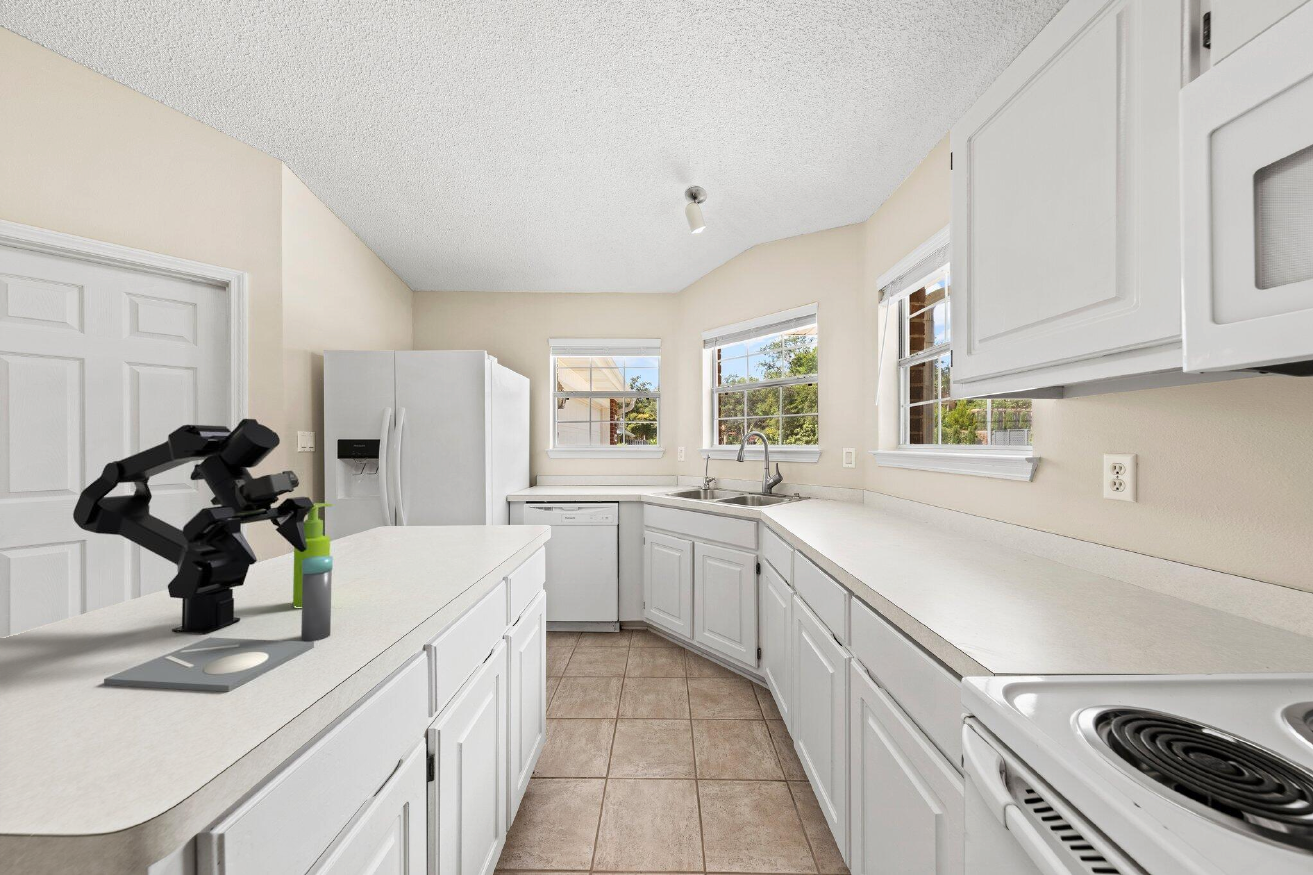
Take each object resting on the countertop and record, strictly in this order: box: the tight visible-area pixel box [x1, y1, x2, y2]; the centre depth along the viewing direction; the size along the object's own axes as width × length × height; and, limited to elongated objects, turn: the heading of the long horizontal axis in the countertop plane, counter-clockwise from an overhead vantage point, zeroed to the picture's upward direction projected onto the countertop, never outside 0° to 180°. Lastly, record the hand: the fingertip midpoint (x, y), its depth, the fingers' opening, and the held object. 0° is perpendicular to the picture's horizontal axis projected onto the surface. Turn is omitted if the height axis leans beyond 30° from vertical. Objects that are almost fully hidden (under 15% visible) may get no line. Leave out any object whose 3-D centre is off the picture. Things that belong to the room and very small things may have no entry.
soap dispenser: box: [292, 502, 333, 607], centre depth 98 cm, size 6×7×20 cm
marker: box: [300, 555, 334, 642], centre depth 81 cm, size 4×4×13 cm
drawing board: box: [103, 636, 315, 693], centre depth 71 cm, size 18×14×1 cm
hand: (280, 556), depth 83 cm, fingers open, 9 cm apart
